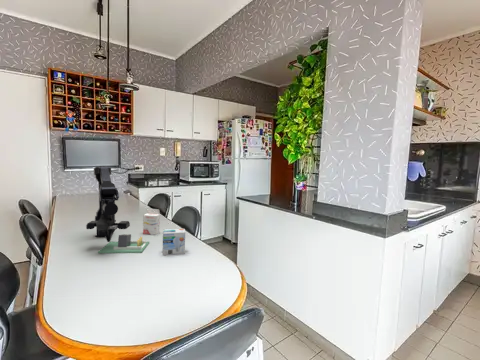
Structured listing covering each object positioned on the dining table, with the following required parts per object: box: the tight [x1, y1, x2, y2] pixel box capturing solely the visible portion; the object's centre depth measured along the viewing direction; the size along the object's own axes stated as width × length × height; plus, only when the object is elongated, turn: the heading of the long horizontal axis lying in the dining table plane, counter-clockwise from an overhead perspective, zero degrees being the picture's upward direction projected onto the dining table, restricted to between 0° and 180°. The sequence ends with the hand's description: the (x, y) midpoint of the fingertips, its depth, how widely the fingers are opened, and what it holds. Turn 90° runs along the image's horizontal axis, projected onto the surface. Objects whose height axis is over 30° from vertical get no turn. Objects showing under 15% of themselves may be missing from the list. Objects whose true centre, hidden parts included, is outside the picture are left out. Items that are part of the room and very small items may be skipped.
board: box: [97, 236, 150, 254], centre depth 126 cm, size 20×14×5 cm
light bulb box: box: [162, 228, 186, 256], centre depth 122 cm, size 11×7×11 cm, turn 105°
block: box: [117, 233, 132, 247], centre depth 125 cm, size 4×6×6 cm, turn 6°
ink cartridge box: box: [142, 208, 161, 236], centre depth 150 cm, size 9×5×15 cm, turn 84°
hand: (108, 241), depth 125 cm, fingers closed
